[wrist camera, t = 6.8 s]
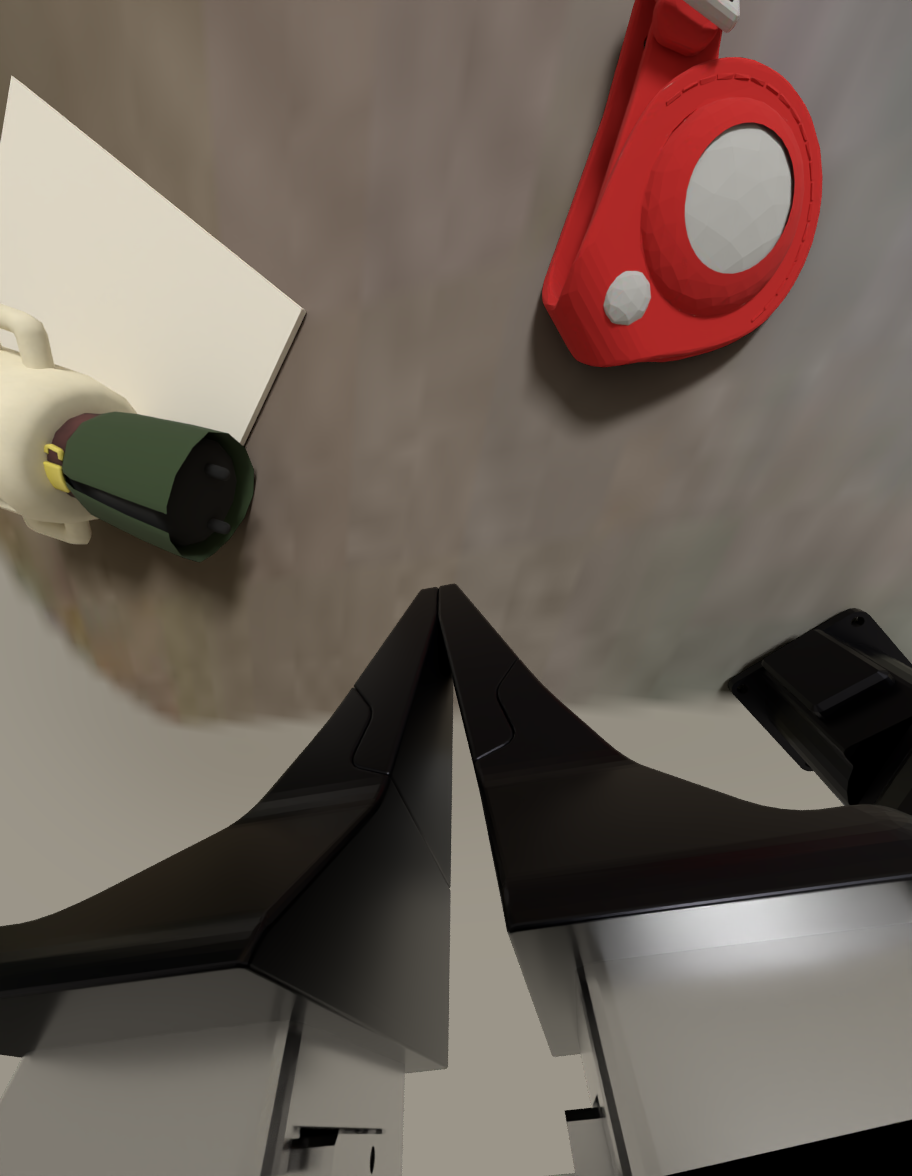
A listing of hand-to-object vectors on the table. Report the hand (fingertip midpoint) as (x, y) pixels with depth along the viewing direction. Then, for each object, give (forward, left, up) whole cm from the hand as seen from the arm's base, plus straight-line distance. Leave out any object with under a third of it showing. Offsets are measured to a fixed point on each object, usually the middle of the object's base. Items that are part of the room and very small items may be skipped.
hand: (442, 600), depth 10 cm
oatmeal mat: (+20, +7, -12) cm, 24 cm away
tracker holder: (+4, -14, -12) cm, 19 cm away
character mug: (+9, +8, -8) cm, 15 cm away
